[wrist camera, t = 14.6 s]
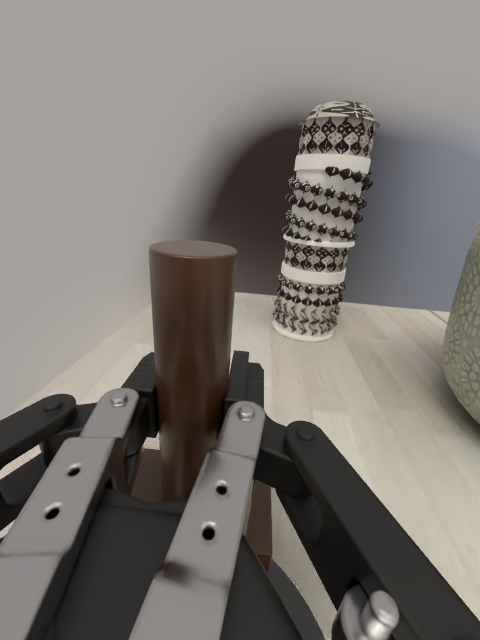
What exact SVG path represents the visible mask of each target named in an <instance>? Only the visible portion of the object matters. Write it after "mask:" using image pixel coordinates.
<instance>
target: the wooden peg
mask: <svg viewBox="0 0 480 640" xmlns="http://www.w3.org/2000/svg"><path fill="white" fill-rule="evenodd" d="M149 263H150V281H151V298H152V317H153V334H154V352H155V370H156V388H157V406H158V423H159V441H160V450H155V449H146V448H143V455H142V458H141V461H140V465H139V468H138V472H137V475H136V479H135V482H134V486H133V489H132V492H131V496H134V497H136V498H138V499H141V500H143V501H145V502H158V501H166V500H174V499H181V498H188V499H189V498H190V495H191V493H192V490H193V488H194V485H195V482H196V480H197V477H198V475H199V472H200V470H201V467H202V465H203V462H204V460H205V457H206V455H207V452H208V450H209V449H210V448H214V446H215V444H216V441H217V439H218V436H219V433H220V431H221V428H222V425H223V421H224V405H225V396H226V390H227V388H228V381H229V366H230V352H231V337H232V322H233V308H234V293H235V278H236V264H237V251H236V249H234V248H232V247H230V246H227V245H223V244H219V243H213V242H204V241H188V240H181V241H180V240H177V241H164V242H158V243H155V244H152V245H150V247H149ZM246 538H247V539H248V541H249V542H250V544H251V546H252V547H253V549H254V551H255V553H256V555H257V556H258V558H259V560H260V562H261V563H262V565H263V567H264V569H265V571H266V572H267V574H269V569H270V564H271V559H272V518H271V486H269V485H267V484H264V483H262V482H260V481H258V480H256V483H255V488H254V494H253V499H252V504H251V510H250V515H249V521H248V527H247V533H246Z"/></svg>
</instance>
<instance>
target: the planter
mask: <svg viewBox="0 0 480 640" xmlns="http://www.w3.org/2000/svg"><path fill="white" fill-rule="evenodd" d="M442 364H443V370H444V374H445V377H446V380H447V382H448V384H449V386H450V388H451V390H452V391H453V393H454V394H455V396H456V398H457V399H458V400H459V402H460V403H461V404H462V406H463V407H464V408H465V409H466V411H467V412H468V413H469V414H470V415H471V416H472V417H473V418H474V419H475V420H476V421H477V422H478V423H479V424H480V217H479V220H478V223H477V226H476V229H475V232H474V235H473V238H472V241H471V244H470V247H469V250H468V254H467V256H466V260H465V264H464V267H463V270H462V273H461V277H460V280H459V283H458V287H457V290H456V293H455V297H454V300H453V304H452V307H451V311H450V315H449V319H448V323H447V327H446V332H445V337H444V342H443V348H442Z"/></svg>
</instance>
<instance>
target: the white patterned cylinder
mask: <svg viewBox="0 0 480 640" xmlns="http://www.w3.org/2000/svg"><path fill="white" fill-rule="evenodd" d="M299 125H300V126H301V127H302V135H301V138H300V143H299V145H300V150H299V153H298V156H296V161H295V169H294V170H295V171H296V172H297V175H296V177H294V176H293V177H292V178H290V179H289V180H288V183H287V184H288V186H289V187H291V188H292V189H294V192H293V191H291V192H290V193H288V194H287V195H286V197H285V199H286V200H287V201H288V202H289V203H290V204H292V209H290V210H289V211H287V212H286V214H285V219H286V220H287V221H288V222H289V223H288V224H286V225H285V227H284V228H283V232H284V233H285V234H284V236H283V238H284V239H285V240H287V246H286V249H285V259H284V261H283V262H282V269H281V274H280V275H279V276H278V277H277V279H278V280H279V283H280V285H279V286H278V287H277V288H276V291H277V292H278V295H279V296H278V297H277V298H276V299H275V301H274V305H275V307H276V308H275V310H274V311H273V316H274V317H275V319H274V320H273V322H272V324H273V327H274V329H275V330H276V331H277V332H279V333H280V334H281V335H284V336H286V337H288V338H291V339H294V340H299V341H304V342H321V341H326V340H329V339H330V338H331V337H333V335H334V326H336V325H337V322H336V321H337V317H336V316H337V315H339V314H340V311H339V310H340V307H339V306H338V305H337V304H338V303H339V302H341V301H342V294H341V293H340V292H341V291H343V290H344V289H345V283H344V282H343V281H344V276H345V272H346V268H345V265H346V261H347V257H348V251H349V248H350V247H353V246H354V244H355V243H354V240H356V239H357V234H355V233H354V232H352V228H353V224H357V223H359V222H361V221H362V220H363V217H362V216H361V215H360V214H359V213H357V211H358V210H360V209H362V208H364V207H365V206H366V204H367V202H366V201H365V199H364V198H362V196H360V193H361V191H362V190H363V192H364V191H365V190H367V189H369V188H370V187H371V186H372V185H373V182H372V181H371V179H370V178H369V177H368V175H370V174H371V172H369V173H368V171H369V166H370V162H371V159H369V158H370V152H371V148H372V145H373V140H374V135H375V131H376V129H377V128H379V127H380V124H379V123H377V122H376V121H374V118H373V114H372V111H371V109H370V108H369V107H367V106H366V105H364V104H361V103H357V102H349V101H335V102H327V103H323V104H320V105H318V106H316V107H315V108H314V109H313V110H312V111H311V112H310V114H309V116H308V117H307V119H306V120H304V121H302V122H300V123H299Z"/></svg>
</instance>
